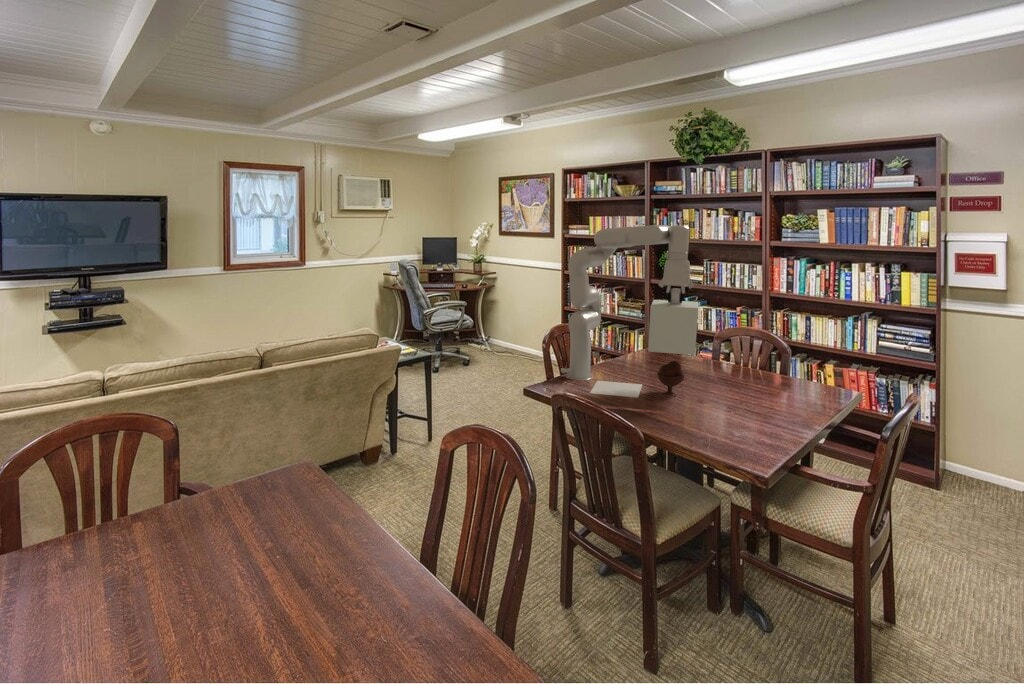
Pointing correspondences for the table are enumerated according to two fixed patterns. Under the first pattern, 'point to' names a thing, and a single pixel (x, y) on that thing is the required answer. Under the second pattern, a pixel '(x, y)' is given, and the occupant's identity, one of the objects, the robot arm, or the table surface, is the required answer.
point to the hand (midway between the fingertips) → (675, 302)
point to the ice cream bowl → (670, 375)
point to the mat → (617, 389)
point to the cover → (673, 325)
